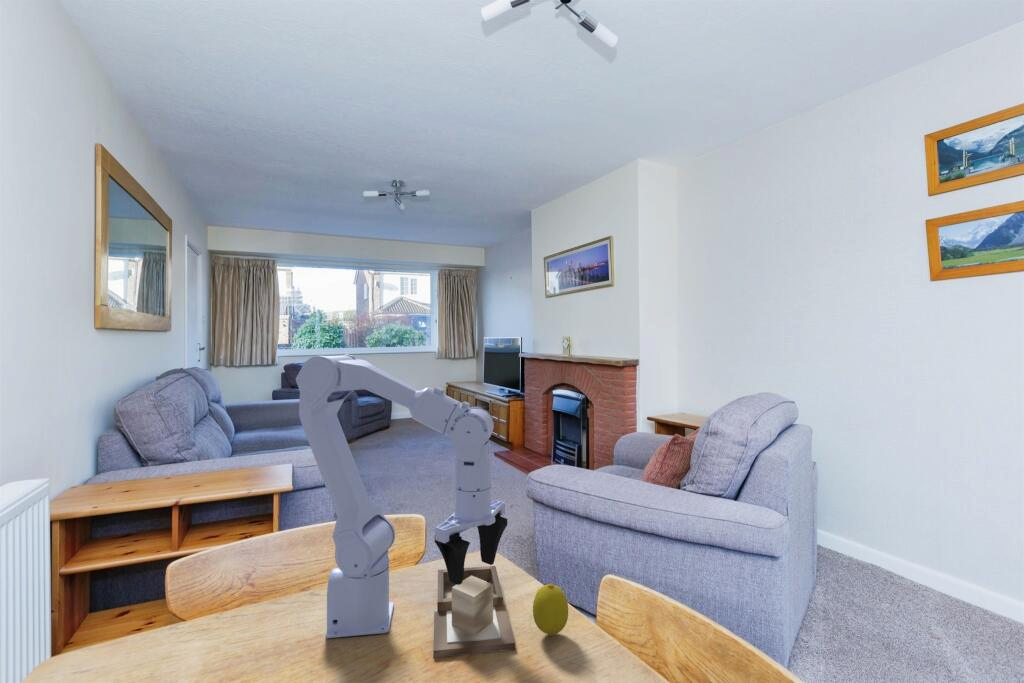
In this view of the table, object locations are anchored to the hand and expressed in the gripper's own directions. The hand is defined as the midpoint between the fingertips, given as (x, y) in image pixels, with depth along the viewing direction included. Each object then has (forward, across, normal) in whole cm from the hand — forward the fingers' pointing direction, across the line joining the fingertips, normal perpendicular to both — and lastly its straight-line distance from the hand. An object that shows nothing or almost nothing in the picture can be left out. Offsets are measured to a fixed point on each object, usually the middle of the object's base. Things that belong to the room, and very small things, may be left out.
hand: (472, 571), depth 73 cm
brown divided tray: (+9, +4, +4) cm, 11 cm away
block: (+8, 0, 0) cm, 8 cm away
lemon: (+10, +6, -10) cm, 16 cm away
